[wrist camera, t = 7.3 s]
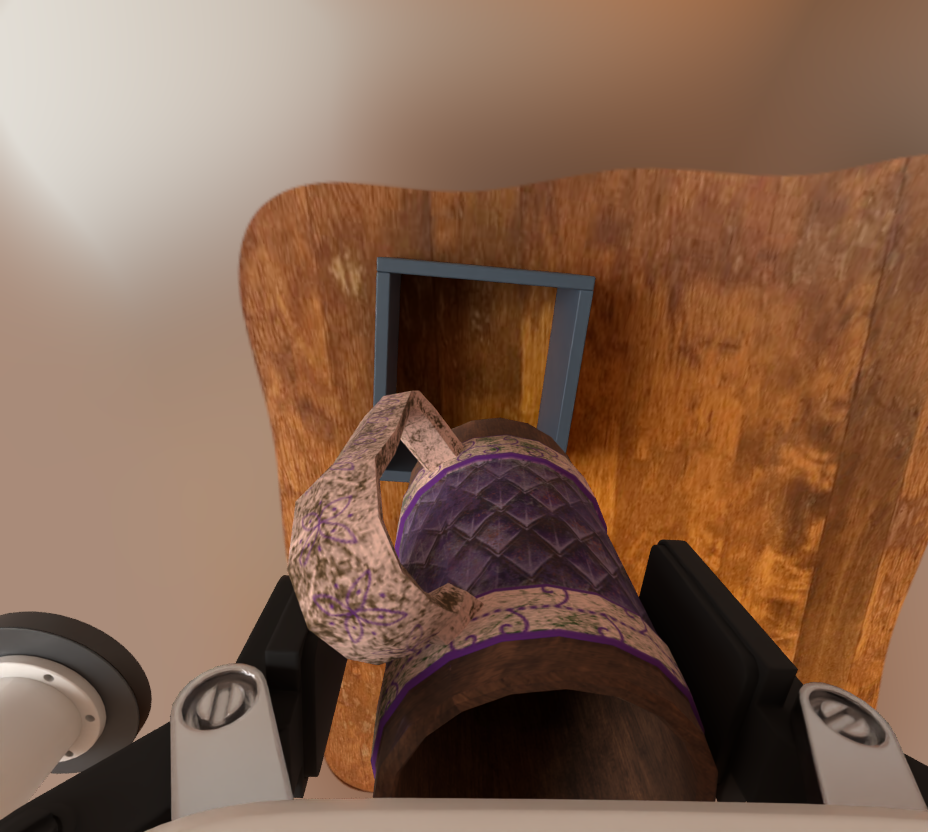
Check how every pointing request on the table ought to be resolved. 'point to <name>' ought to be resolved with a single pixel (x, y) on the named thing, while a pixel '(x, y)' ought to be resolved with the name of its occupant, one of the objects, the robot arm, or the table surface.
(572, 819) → the robot arm
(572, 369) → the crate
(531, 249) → the table surface
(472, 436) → the mug
